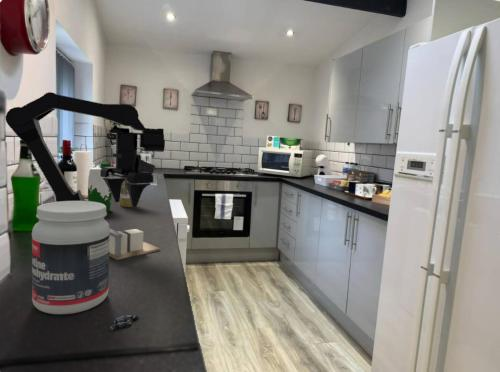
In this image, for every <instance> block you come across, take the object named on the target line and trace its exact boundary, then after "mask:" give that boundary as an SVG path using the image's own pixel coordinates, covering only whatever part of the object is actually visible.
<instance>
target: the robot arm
mask: <svg viewBox="0 0 500 372" xmlns="http://www.w3.org/2000/svg"><path fill="white" fill-rule="evenodd" d="M55 110H60V111H65V112H69V113H70V112H71V113H77V114H81V115H87V116H92V117H97V118H100V119H101V118H102V119H104V120H107V121H110V122H113V123H115V124H114V125H113V127H112V128H111V129H110V130H108V133H109V134H115V152H113V153H112V157H113V158H115V166H111V167H103V168H102V169H101V174H100V176H101V177H105V178H103V180H104V181H105V183H106V184H107V186H108V188H109V190H110V192H111V194H112V198H113V200H114V202H115V203H120V194H121V185H122V183H123V182H124V180H125V179H126V178H127V181H128V182H129V183H126V184H127V188H128V192H129V196H130V200H131V204H132V207H131V208H137V207H138V204H139V201H140V198H141V196H142V194H143V191H144V190H145V189H146V187H148V186H150V185H151V184H153V183H154V181H155V180H154V177H155V176H154V175H153V174H154V171H155V168H156V165H155V164H152V163H149V162H147V161H144V159H142V155H141V154H138V145H139V148H142V150H143V152H153V153H164V152H165V147H166V140H165V134H164V128H146V127H145V126H144V125H145V124H143V123H142V122H141V120H140V119H139V112H138V110H137V109H136V107H135V106H134V105H131V104H123V103H120V104H119V103H101V102H95V101H90V100H86V99H82V98H76V97H72V96H71V97H70V96H66V95H62V94H57V93H55V92H51V91H48V92H45V94H43V95H42V96H40V97H38V98H36V99H34V100H32V101H30V102H28V103H26V104H25V105H23V106H16V107H12V108H10V109H9V110H8V111H7V112H6V115H5V122H6V124H7V125H8V126H9V128H10V129H11V131H13V133H14V134H15V135H16V136H17V137H18V138H19V139H20V140H21V141H22V142H23V143H24V144H25V146H27V148H28V150H29V151H30V153H31V155H32V157H33V158H34V160H35V162H36V164H37V166H38V168H39V169H40V170H41V173H42V175H43V176H44V178H45V179H46V181H47V183H48V185H49V186H50V188H51V190H52V192H53V193H54V196H55V202H60V201H87V200H85V199H84V197H83V194H82V192H81V190H80V189H78V190H76V191H75V190H74V189H73V188H72V187H71V186H70V185H69V183H68V181H67V179H66V177H65V175H64V174H63V172H62V171H61V168H60V167H59V165H58V162H56V161H57V160H55V157H54V156H53V154H52V153H51V152H52V151H50V148H49V147H48V145H47V143H46V141H45V139H44V136H43V131H42V127H41V124H40V120H42V119H44V118H45V117H47V116H48V115H49V114H51V113H52V112H54V111H55ZM116 124H118V125H121V126H123V127H118V125H116ZM126 127H127V128H126ZM128 127H130V128H132V129H133V130H134V131H139V132H133V131H132V132H130V128H128ZM138 136H139V140H138ZM138 141H139V144H138ZM122 177H123V178H122Z"/></svg>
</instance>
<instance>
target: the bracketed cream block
mask: <svg viewBox="0 0 500 372" xmlns="http://www.w3.org/2000/svg"><path fill="white" fill-rule="evenodd" d="M109 253H111V254H113V255H116V256H117V257H118V256H121V254H123V253H127V234H125V233H122V231H117V230H114V229H112V228H110V235H109Z"/></svg>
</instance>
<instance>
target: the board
mask: <svg viewBox="0 0 500 372" xmlns="http://www.w3.org/2000/svg"><path fill="white" fill-rule="evenodd" d="M158 251H159V252H160V251H161V247H157V246H155V245H153V244H150V243H148V242H145V241H143V249H142V250H137V251H132V252H128V251H127V253H123V254H121V256H118V257H117V256H116V255H113V254H111V253H109V258H110V257H111V258H113V259H114V260H116V261H117V260H123V259H127V258H131V257H137V256H141V255H146V254H150V253H155V252H158Z"/></svg>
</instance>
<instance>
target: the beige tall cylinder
mask: <svg viewBox="0 0 500 372" xmlns="http://www.w3.org/2000/svg"><path fill="white" fill-rule="evenodd" d="M122 178H123V177H122ZM126 183H129V182H128V181H127V178H126V179H125V180H124V182H123V183H122V185H121V194H120V200H119V205H120V207H122V208H133V207H132V204H131V200H130V196H129V192H128V188H127V184H126Z"/></svg>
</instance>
